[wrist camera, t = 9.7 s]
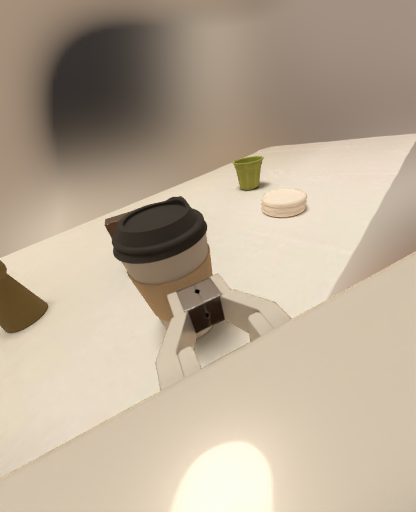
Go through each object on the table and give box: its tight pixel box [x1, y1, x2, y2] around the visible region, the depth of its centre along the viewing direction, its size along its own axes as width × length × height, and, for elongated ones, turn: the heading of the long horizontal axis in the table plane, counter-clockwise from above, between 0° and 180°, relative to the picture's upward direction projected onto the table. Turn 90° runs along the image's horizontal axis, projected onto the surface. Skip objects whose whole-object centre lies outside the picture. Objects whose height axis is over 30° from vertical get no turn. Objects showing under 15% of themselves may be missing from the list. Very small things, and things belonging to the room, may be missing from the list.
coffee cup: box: [112, 197, 213, 339], centre depth 21 cm, size 9×9×15 cm
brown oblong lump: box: [0, 261, 48, 333], centre depth 29 cm, size 6×6×11 cm
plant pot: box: [233, 156, 263, 190], centre depth 63 cm, size 9×9×9 cm
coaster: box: [261, 189, 307, 217], centre depth 46 cm, size 10×10×4 cm
